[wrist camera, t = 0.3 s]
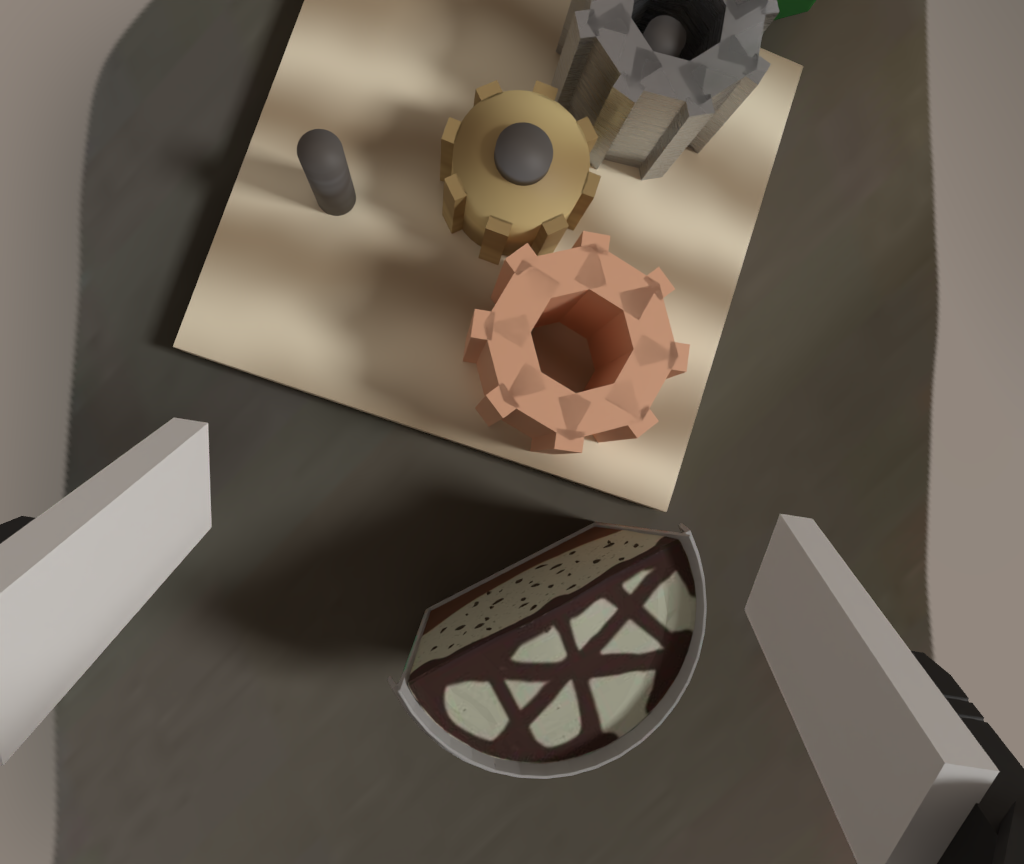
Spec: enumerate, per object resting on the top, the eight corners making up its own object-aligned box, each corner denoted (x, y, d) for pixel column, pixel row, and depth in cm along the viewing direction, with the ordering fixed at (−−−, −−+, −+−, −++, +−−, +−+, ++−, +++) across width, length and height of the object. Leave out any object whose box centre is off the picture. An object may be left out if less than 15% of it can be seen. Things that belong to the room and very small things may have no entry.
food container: (453, 738, 31) (464, 866, 21) (397, 623, 31) (382, 699, 21) (673, 617, 33) (778, 684, 23) (621, 508, 33) (704, 528, 23)
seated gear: (699, 194, 33) (759, 134, 27) (536, 155, 32) (561, 84, 26) (725, 36, 33) (790, -57, 27) (566, -7, 32) (597, -114, 26)
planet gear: (584, 483, 31) (621, 488, 25) (432, 393, 30) (433, 376, 24) (668, 335, 32) (722, 307, 26) (522, 244, 31) (544, 193, 25)
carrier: (655, 509, 33) (706, 520, 27) (185, 352, 31) (125, 325, 24) (787, 82, 35) (861, 3, 29) (355, -99, 33) (338, -227, 26)
